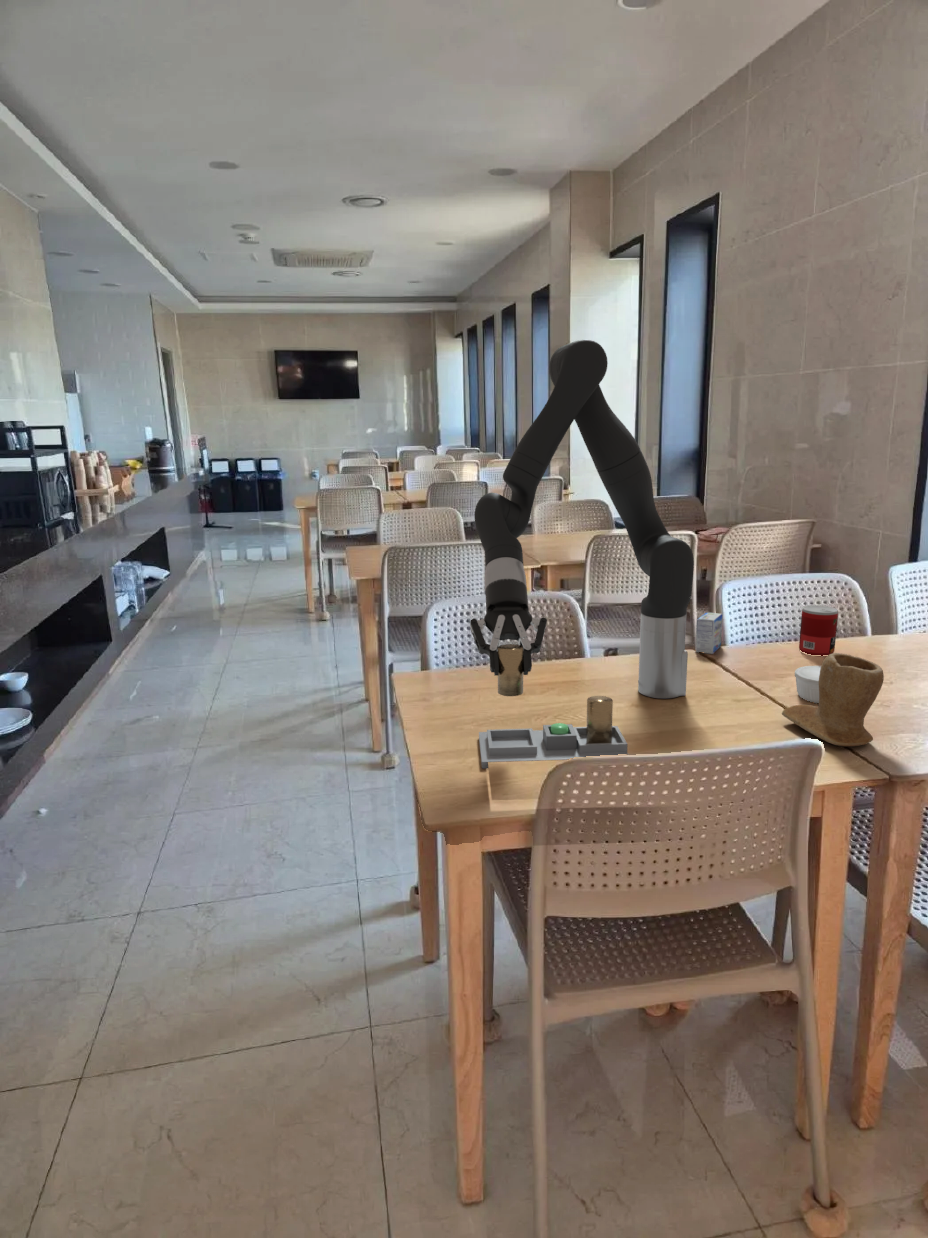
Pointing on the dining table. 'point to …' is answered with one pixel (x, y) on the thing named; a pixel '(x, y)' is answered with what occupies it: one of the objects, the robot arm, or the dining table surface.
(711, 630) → the medicine box
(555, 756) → the grey socket tray
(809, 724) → the tan hollow curved piece
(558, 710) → the dining table surface
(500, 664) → the cylinder
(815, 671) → the ramekin
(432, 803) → the dining table surface
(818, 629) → the canned food
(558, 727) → the button
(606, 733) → the seated billet
